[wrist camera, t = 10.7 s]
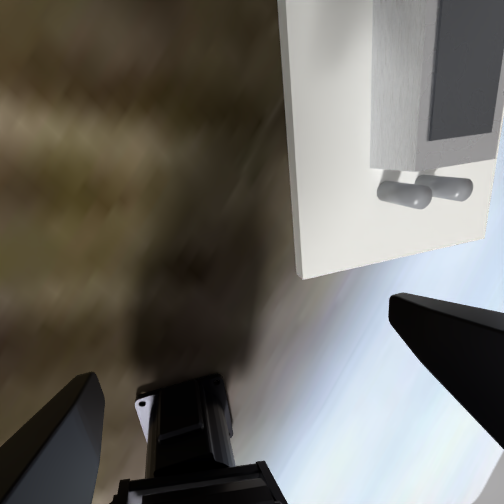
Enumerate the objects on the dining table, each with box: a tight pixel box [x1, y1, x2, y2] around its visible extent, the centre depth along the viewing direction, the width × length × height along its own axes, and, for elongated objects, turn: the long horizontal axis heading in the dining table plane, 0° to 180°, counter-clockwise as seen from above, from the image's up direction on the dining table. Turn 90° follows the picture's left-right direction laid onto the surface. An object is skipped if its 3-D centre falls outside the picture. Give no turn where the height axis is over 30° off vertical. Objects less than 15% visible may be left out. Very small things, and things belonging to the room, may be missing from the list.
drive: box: [370, 0, 504, 172], centre depth 17 cm, size 10×6×4 cm, turn 7°
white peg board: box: [277, 0, 504, 280], centre depth 18 cm, size 24×16×4 cm, turn 7°
